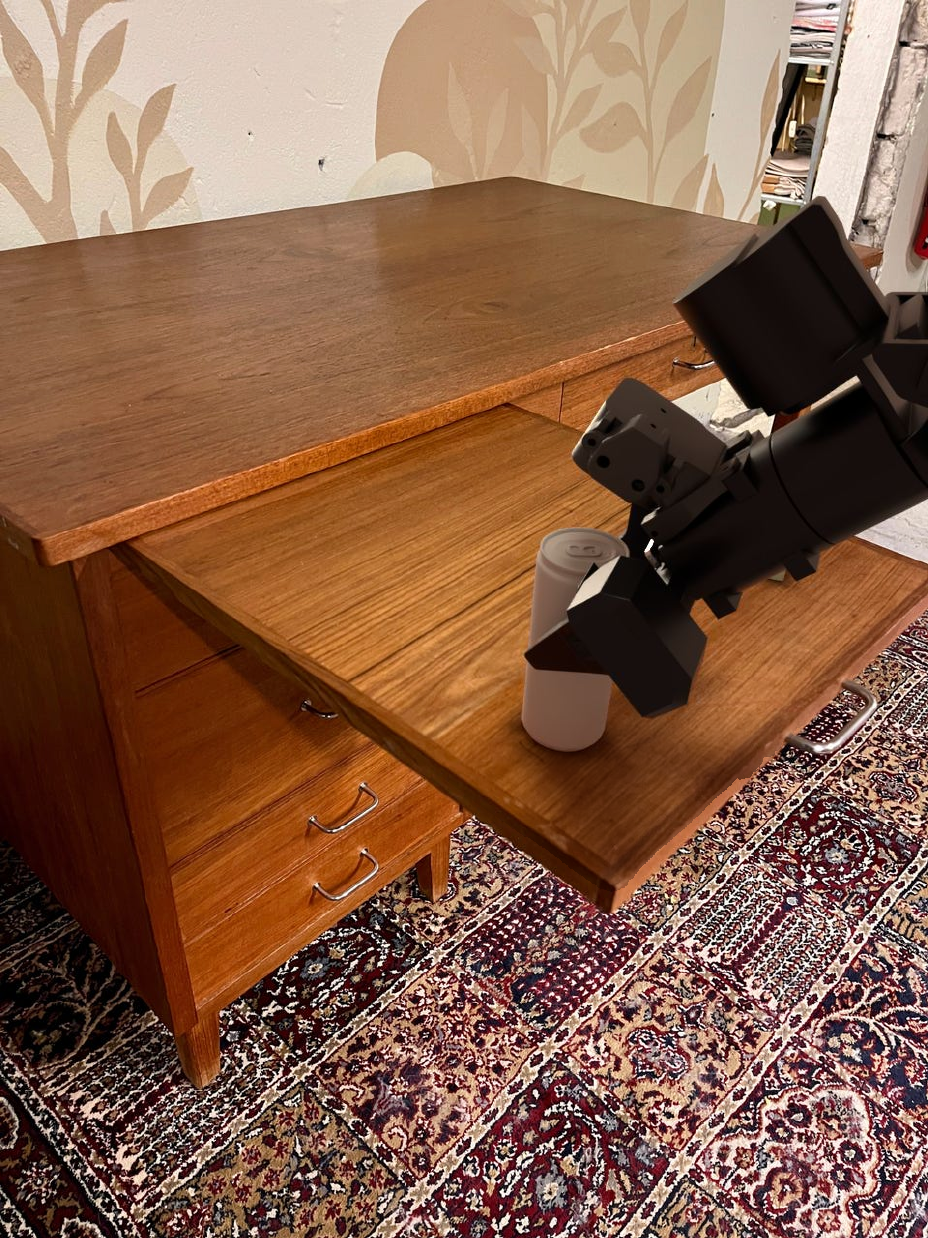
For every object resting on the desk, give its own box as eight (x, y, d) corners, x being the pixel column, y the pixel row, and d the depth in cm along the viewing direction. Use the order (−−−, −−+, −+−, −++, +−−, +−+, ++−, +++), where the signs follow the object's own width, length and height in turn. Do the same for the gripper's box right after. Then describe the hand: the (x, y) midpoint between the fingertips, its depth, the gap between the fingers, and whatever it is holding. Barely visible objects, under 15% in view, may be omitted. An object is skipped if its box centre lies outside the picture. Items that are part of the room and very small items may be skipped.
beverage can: (608, 758, 54) (638, 575, 47) (521, 755, 54) (539, 571, 47) (599, 703, 58) (626, 527, 51) (519, 700, 58) (535, 523, 51)
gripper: (738, 286, 48) (517, 447, 58) (649, 415, 34) (375, 600, 44) (859, 461, 51) (627, 588, 60) (824, 652, 36) (526, 779, 46)
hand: (549, 628), depth 52 cm, fingers open, 6 cm apart
